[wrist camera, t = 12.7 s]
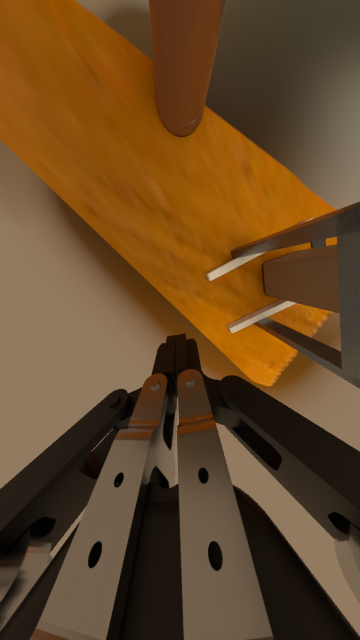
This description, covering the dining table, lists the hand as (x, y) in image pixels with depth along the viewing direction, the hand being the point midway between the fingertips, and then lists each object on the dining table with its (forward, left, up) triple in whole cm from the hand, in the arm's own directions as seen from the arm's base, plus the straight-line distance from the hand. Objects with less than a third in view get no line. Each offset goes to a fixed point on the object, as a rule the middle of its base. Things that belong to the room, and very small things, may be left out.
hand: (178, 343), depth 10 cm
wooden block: (+10, +30, -29) cm, 43 cm away
